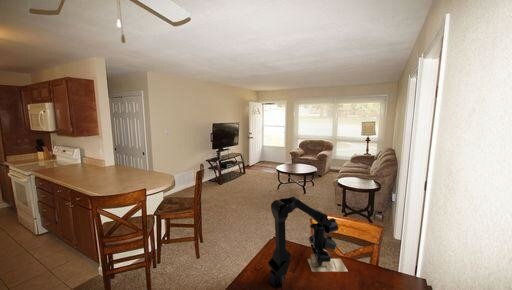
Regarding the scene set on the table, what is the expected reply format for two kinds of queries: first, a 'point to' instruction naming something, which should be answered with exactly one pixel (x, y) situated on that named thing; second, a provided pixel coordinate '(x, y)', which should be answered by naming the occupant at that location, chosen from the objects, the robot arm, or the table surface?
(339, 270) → the board
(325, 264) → the sanding block
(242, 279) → the table surface
